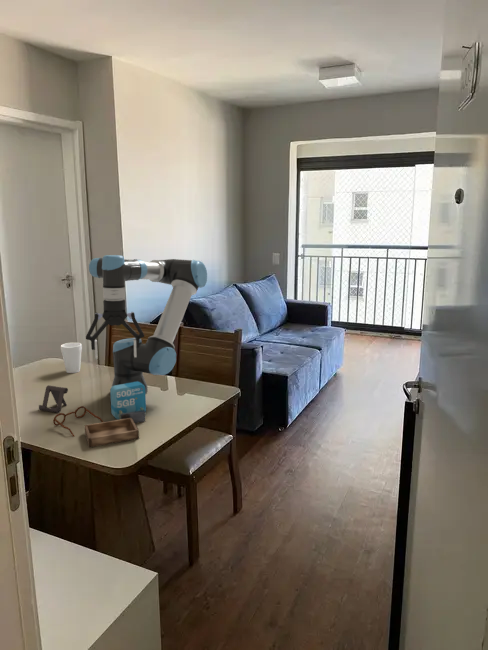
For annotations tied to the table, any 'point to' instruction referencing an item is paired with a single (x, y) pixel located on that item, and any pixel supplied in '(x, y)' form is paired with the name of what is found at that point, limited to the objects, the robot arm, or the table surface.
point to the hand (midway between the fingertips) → (116, 357)
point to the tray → (111, 432)
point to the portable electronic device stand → (58, 396)
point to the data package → (127, 398)
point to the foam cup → (72, 356)
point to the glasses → (75, 416)
